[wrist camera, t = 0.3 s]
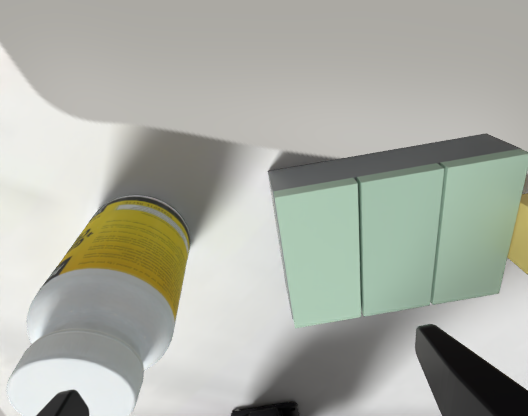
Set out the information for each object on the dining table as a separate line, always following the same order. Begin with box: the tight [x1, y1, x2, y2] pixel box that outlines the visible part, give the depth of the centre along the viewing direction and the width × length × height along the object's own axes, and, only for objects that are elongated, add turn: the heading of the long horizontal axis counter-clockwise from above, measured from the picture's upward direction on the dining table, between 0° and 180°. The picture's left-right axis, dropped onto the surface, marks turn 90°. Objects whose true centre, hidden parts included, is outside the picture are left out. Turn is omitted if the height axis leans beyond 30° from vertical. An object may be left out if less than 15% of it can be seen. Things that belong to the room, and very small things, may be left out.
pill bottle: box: [7, 195, 190, 416], centre depth 18 cm, size 6×6×12 cm
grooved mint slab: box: [274, 149, 528, 328], centre depth 19 cm, size 10×19×4 cm, turn 99°
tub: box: [268, 134, 520, 318], centre depth 23 cm, size 10×14×3 cm
